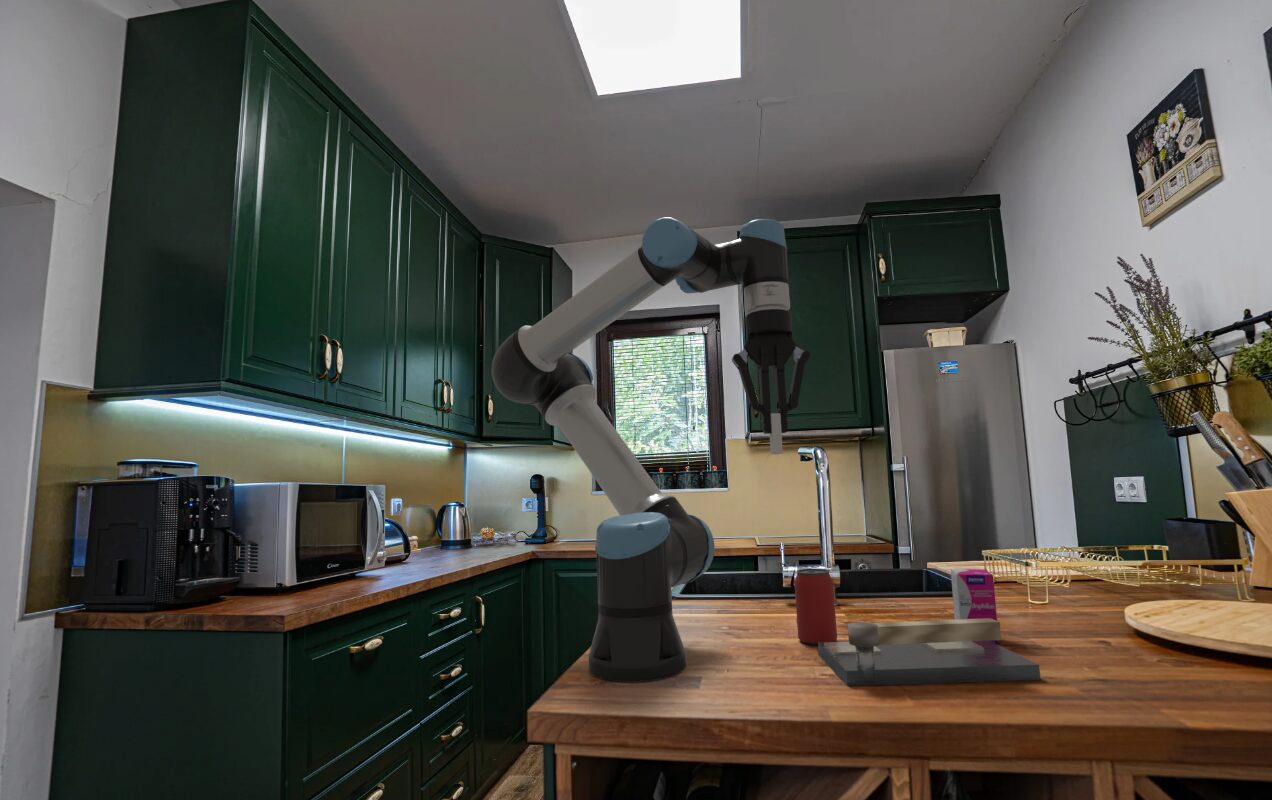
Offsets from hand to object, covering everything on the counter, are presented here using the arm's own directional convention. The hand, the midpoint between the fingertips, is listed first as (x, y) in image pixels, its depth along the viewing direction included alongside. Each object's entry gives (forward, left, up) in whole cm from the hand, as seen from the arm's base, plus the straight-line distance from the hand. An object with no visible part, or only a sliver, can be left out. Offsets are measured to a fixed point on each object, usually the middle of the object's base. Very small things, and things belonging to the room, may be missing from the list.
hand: (776, 453), depth 108 cm
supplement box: (+33, +8, -33) cm, 47 cm away
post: (+8, -13, -32) cm, 36 cm away
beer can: (+7, +11, -33) cm, 35 cm away
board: (+18, -6, -32) cm, 38 cm away
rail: (+16, -13, -27) cm, 34 cm away
